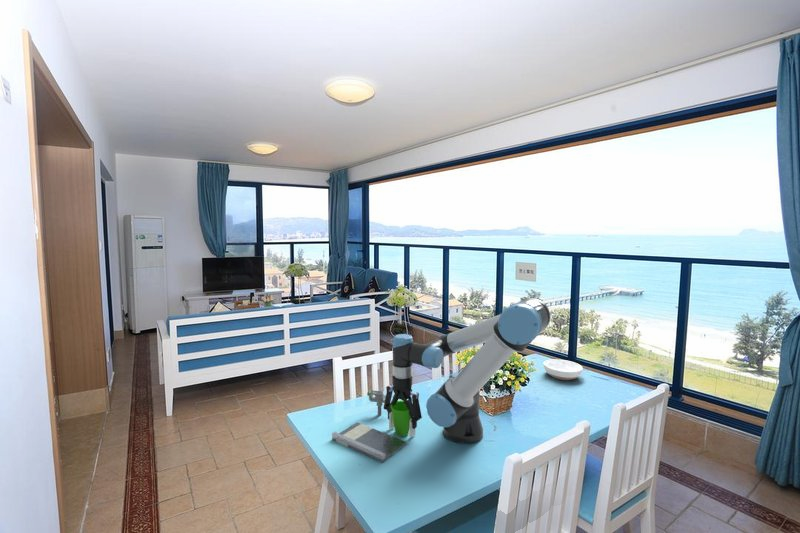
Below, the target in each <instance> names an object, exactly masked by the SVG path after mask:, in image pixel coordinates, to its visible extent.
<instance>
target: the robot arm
mask: <svg viewBox="0 0 800 533" xmlns="http://www.w3.org/2000/svg"><path fill="white" fill-rule="evenodd" d="M550 322H551V312H550V309H549V306H547V304H546V303H544V302H543V301H542V300H540V299H538V298H535V297H533V298H532V297H529V298H524V299H522V300H520V301H518V302H516V303H512V304H510V305H509V306H507V307H506V308H505V309H503V310H502V311H501V313H500V314H497V315H495V316H492V317H490V318H487V319H484V320H482V321H478V322H477V323H473V324H471V325H469V326H465V327H463V328H461V329H458V330H455V331H452V332H449V333H447V334H442V335H440V336H438V337H437V338H435V339H433V340H431V341H429V342H427V343H424V344H423V343H417V342H414V339H413V336H412V335H410V334H407V333H399V334H396V335H394V336H393V338H392V346H391V348H392V384H389V385H387V386H386V387H385V388H386V393H385V395H386V398H385V403H383V410H385V411H386V412H387V419H388V430H392V429H395V428H394V421H393V415H392V409H391V407H390V406H391V404H392V405H395V404H396V403H397V401H399V400H400V401H404V403H405V404H406V406H407V409H408V410H410V411H409V414H410V417H411V420H410V428H409V438H413V437H414V436H415V435H416V429H417V427H418V421H419V420H421V419H422V417H423V416H422V412H421V406H420V405H421V404H420V399H419V398H420V393H419V392H418V391H417V392H414V391H413V389H412V388H413V364H414V365H419V366H421V367H426V368H429V369H437V368H440V366H441V364H442V363H443V360H444V358H445V357H448V356H450V355H453V354H456V353H458V352H462V351H464V350H467V349H470V348H472V347H476V346H479V345H481V347H480V348H479V349H478V351H477V352H476V353H475V354H474V355H473V356H472V358H470V360H469V361H468V362H467V363H466V365H464V366H463V367H462V369H461V370H460V371H459V372H453V373H449V376H448V379H447V380H446V381H445V382H444V383H443V384H442V385H441V386H440V388H438V390H437V391H436V392H434V393H433V394H431V395H430V396H429V398H428V399H427V401H426V403H425V404H426V405H425V408H426V413H427V415H428V416H429V419H430V420H431V421H432V422H433V423H434V424H435V425H436V426H438V427H441V428H442V429H443V431H442V433H443V435H444V436H445V438H447V439H448V440H450V441H452V442H455V443H459V444H473V443H477V442H480V440H482V439H483V436H484V428H483V425H482V420H481V418H480V390H481V389H482V388H483V387H484V386H485V385H486V383H488V381H489V380H490V379H491V378H492V377H493V376H494V375H495V374H496V373H497V372H498V371H499V370H500V369H501V367H503V366H504V364H505V363H506V362H507V361H508V360H509V359H510V358H511V357H512V356H513V354H514V353H522V352H523V351H524V350H525V349H526V348H527V347H528V346H530V344H531V343H532V342H533V341H534V340H535V339H536V338H537V336H539V335H540V334H541V333H543V331H545V330H546V328H548V326H549V323H550ZM482 344H483V345H482ZM393 393H394V394H393Z"/></svg>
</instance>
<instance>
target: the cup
mask: <svg viewBox="0 0 800 533" xmlns="http://www.w3.org/2000/svg"><path fill="white" fill-rule="evenodd" d="M390 407H391V409H392V415H393V421H394V428H393V429H394V433H395V435H396V436H398V437H406V436H408V434H410V420H411V417H410V414H409V411H410V410H408V409H407V406H406V404H405V403H404V401H403V400H398V401H397V403H396V404H395V405H392V404H391V406H390Z"/></svg>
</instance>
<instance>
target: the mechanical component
mask: <svg viewBox="0 0 800 533" xmlns="http://www.w3.org/2000/svg"><path fill="white" fill-rule="evenodd" d="M366 395H367V397H368V400H369V401H370V402H371V403H376V406H377V416H378V417H381V415H382V406H384V403H385V398H386V394H385V393H384V391H381V390H374V389H373V390H372V389H370V391H367V394H366Z"/></svg>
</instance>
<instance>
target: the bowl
mask: <svg viewBox="0 0 800 533" xmlns="http://www.w3.org/2000/svg"><path fill="white" fill-rule="evenodd" d="M543 369H544V371H545V372H546V373H547V374H548V375H549V376H551V377H553V378H554V379H557V380H561V381H571V380H575V379H577V378H578V377H580V376H581V375H582V374H583V370H584V368H583V366H582V365H580V364H579V363H577V362H574V361H570V360H566V359H558V358H554V359H553V358H552V359H547V360H545V361H543Z"/></svg>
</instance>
